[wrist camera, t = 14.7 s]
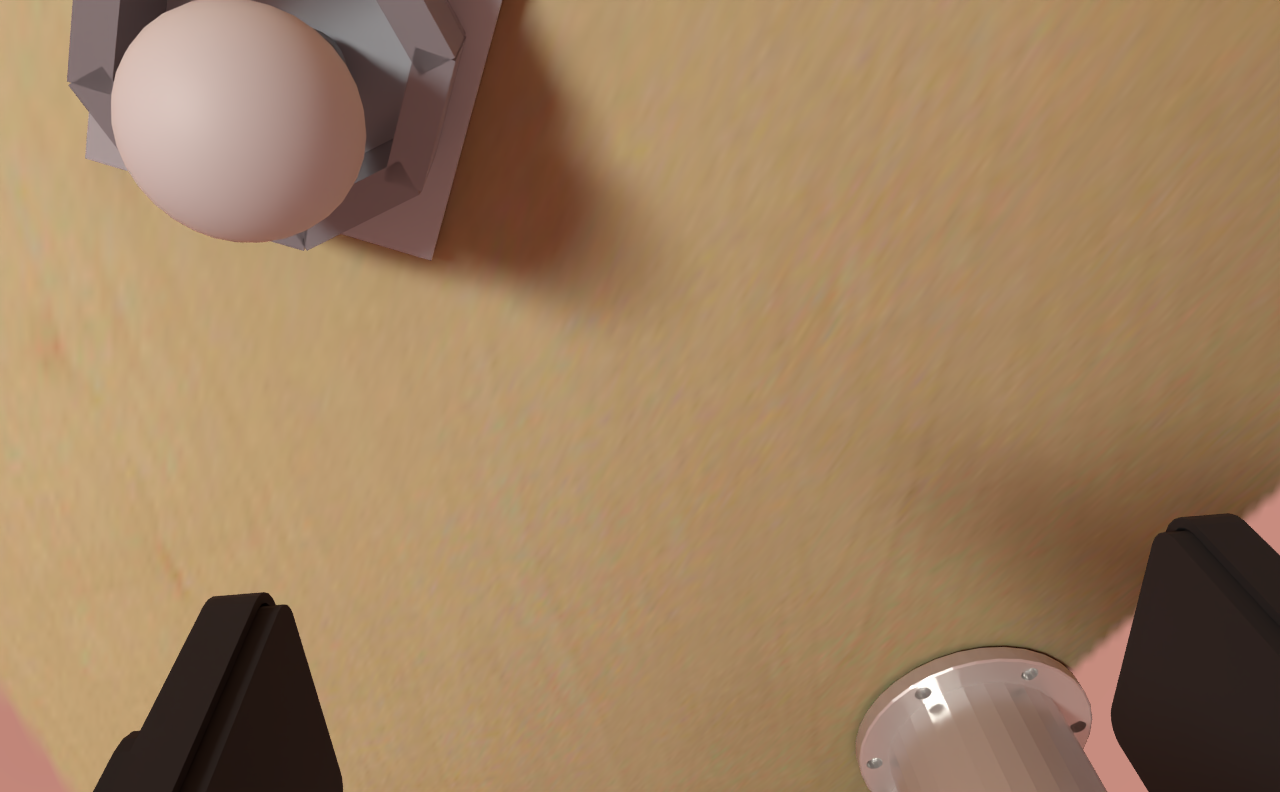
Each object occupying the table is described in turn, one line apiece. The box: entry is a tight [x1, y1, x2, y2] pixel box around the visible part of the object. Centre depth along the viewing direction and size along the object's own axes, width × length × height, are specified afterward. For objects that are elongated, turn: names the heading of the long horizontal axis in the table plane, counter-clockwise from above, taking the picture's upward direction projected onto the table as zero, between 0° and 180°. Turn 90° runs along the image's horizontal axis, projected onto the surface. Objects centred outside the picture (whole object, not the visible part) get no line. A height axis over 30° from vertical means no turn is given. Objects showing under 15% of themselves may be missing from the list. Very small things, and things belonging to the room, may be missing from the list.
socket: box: [67, 0, 502, 260], centre depth 30 cm, size 12×12×5 cm
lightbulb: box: [111, 0, 366, 242], centre depth 27 cm, size 6×6×11 cm
